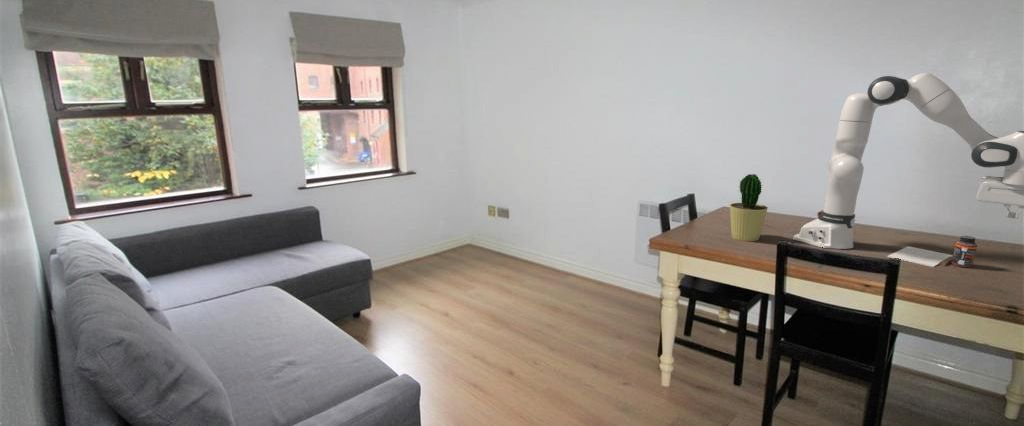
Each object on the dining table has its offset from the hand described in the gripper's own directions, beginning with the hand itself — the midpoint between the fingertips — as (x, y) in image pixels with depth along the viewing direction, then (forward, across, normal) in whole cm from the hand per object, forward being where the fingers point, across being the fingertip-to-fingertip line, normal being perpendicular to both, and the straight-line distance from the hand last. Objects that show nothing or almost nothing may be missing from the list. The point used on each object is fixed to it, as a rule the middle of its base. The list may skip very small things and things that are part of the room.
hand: (1012, 217), depth 170 cm
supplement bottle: (+21, -10, 0) cm, 23 cm away
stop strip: (+21, -15, 0) cm, 25 cm away
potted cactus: (+20, -78, -31) cm, 87 cm away
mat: (+20, -23, 0) cm, 31 cm away
